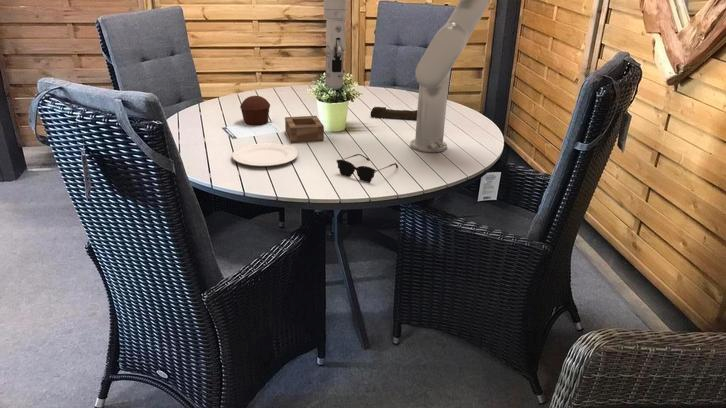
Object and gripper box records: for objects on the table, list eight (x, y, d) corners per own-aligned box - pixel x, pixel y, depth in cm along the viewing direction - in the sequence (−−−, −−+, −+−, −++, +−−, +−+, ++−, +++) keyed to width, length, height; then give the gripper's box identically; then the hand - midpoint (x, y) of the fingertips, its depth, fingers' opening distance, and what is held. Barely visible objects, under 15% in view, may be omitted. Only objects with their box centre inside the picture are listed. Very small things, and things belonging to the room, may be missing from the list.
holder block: (323, 141, 189) (323, 126, 187) (291, 143, 186) (290, 128, 184) (316, 130, 201) (316, 115, 198) (285, 131, 198) (285, 117, 195)
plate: (234, 173, 161) (234, 167, 160) (230, 150, 179) (229, 145, 178) (303, 168, 166) (303, 162, 165) (292, 146, 184) (292, 141, 183)
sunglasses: (335, 174, 162) (336, 158, 160) (365, 162, 175) (366, 148, 173) (373, 185, 155) (375, 169, 154) (401, 172, 168) (403, 157, 166)
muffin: (261, 128, 201) (260, 102, 196) (235, 125, 204) (233, 98, 200) (276, 120, 211) (275, 95, 207) (251, 117, 214) (249, 92, 210)
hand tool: (417, 118, 219) (418, 107, 217) (417, 121, 215) (418, 110, 213) (371, 116, 221) (371, 104, 219) (370, 118, 217) (370, 107, 215)
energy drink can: (342, 89, 185) (343, 44, 178) (324, 88, 185) (325, 43, 179) (343, 85, 190) (344, 41, 184) (326, 84, 190) (326, 41, 184)
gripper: (352, 17, 171) (351, 75, 179) (340, 11, 186) (339, 64, 194) (329, 17, 169) (328, 75, 177) (318, 11, 184) (318, 65, 192)
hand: (334, 69), depth 185 cm, fingers closed on energy drink can, 6 cm apart
